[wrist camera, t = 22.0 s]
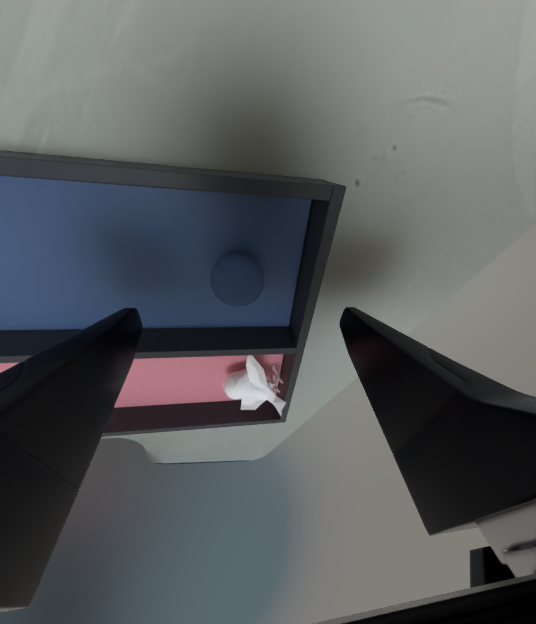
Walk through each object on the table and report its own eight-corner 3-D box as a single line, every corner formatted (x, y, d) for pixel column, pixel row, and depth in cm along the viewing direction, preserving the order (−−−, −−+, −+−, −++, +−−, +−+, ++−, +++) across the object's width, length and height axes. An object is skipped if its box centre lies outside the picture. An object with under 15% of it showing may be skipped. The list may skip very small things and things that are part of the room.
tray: (323, 179, 11) (347, 186, 9) (280, 393, 23) (285, 422, 21) (-615, 94, 7) (-1097, 59, 4) (-77, 415, 19) (-126, 455, 16)
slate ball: (272, 250, 12) (255, 272, 10) (268, 295, 14) (252, 323, 11) (224, 241, 12) (195, 259, 10) (226, 285, 14) (202, 310, 12)
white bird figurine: (219, 343, 16) (243, 397, 12) (273, 330, 18) (306, 373, 14) (218, 403, 20) (235, 454, 17) (261, 387, 22) (284, 430, 19)
